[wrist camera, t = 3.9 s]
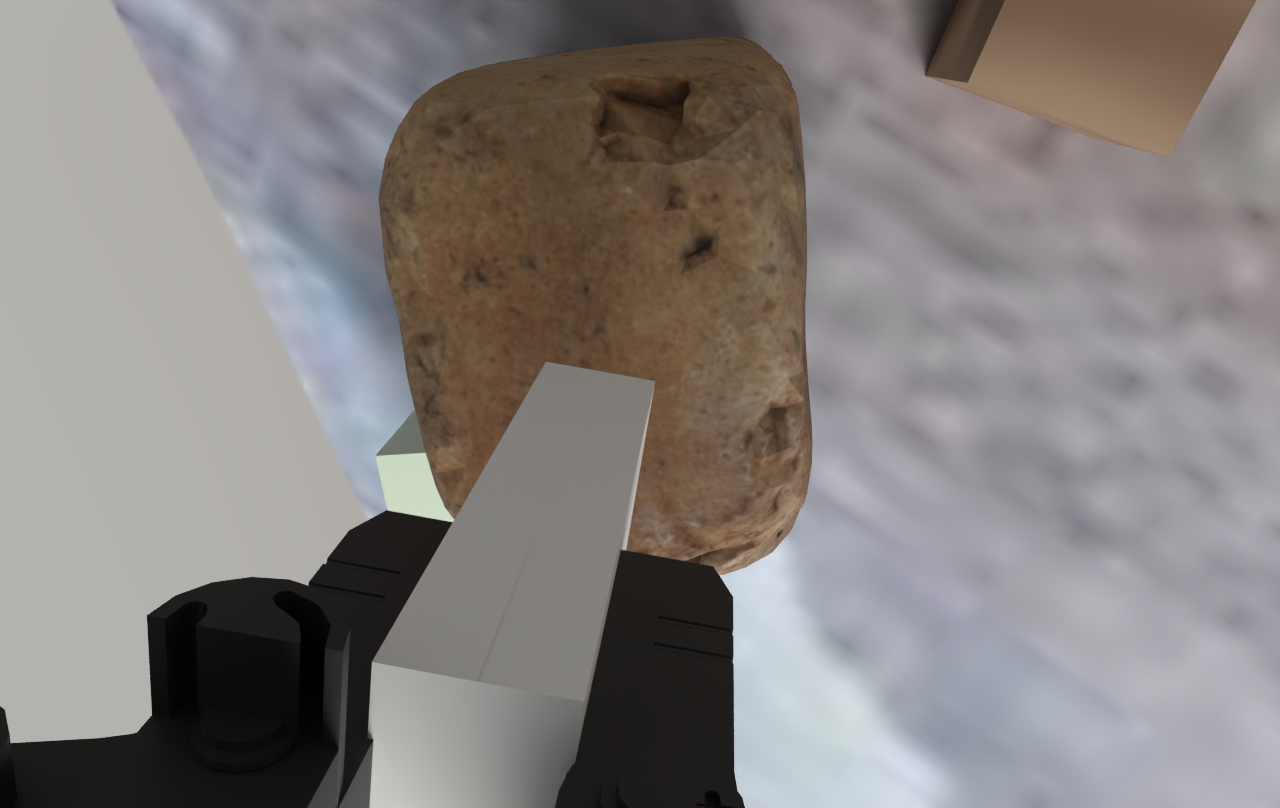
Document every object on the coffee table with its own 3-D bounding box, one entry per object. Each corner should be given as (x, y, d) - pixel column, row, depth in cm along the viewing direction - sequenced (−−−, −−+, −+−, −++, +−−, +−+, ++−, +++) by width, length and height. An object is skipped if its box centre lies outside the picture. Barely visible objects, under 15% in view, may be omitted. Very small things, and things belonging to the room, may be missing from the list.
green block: (447, 371, 36) (375, 456, 29) (599, 359, 36) (564, 443, 28) (474, 508, 38) (412, 619, 31) (616, 499, 38) (589, 612, 30)
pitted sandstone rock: (555, 50, 32) (307, 59, 13) (778, 33, 31) (851, 16, 12) (585, 352, 35) (425, 693, 17) (783, 345, 35) (845, 693, 16)
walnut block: (1008, -119, 29) (1076, -158, 23) (1187, -51, 29) (1296, -74, 23) (924, 75, 31) (967, 82, 25) (1091, 137, 31) (1169, 157, 26)
